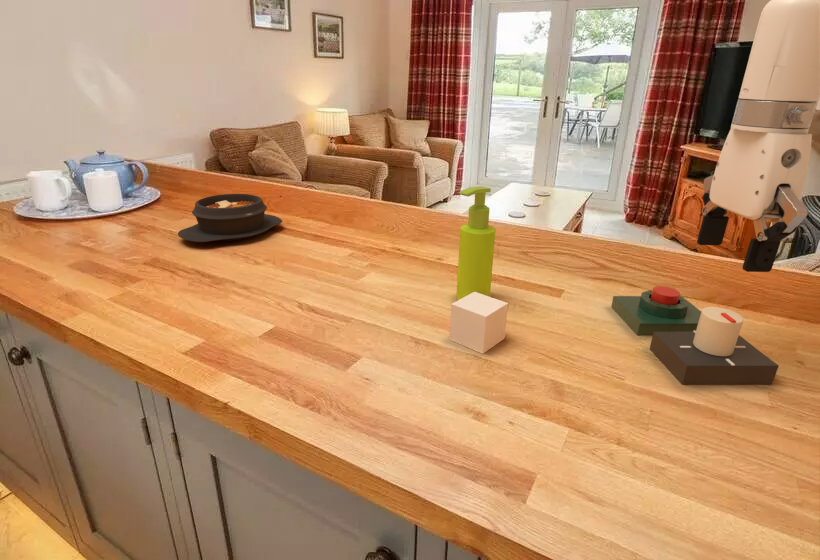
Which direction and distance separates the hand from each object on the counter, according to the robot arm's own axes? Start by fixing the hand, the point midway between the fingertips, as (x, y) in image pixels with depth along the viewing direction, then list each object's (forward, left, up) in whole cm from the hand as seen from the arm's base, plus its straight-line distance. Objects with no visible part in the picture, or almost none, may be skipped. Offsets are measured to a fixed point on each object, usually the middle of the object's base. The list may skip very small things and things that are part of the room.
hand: (730, 256), depth 63 cm
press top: (0, -12, -12) cm, 17 cm away
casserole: (+83, -57, -16) cm, 102 cm away
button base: (0, -12, -16) cm, 20 cm away
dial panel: (0, +1, -16) cm, 16 cm away
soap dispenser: (+30, -20, -16) cm, 39 cm away
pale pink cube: (+31, -6, -16) cm, 35 cm away
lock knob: (0, +1, -13) cm, 13 cm away
